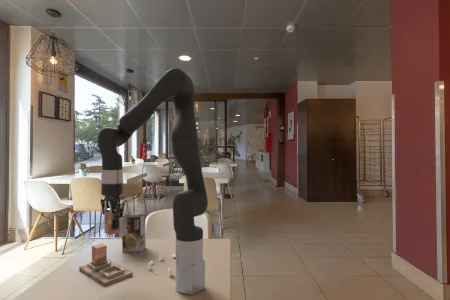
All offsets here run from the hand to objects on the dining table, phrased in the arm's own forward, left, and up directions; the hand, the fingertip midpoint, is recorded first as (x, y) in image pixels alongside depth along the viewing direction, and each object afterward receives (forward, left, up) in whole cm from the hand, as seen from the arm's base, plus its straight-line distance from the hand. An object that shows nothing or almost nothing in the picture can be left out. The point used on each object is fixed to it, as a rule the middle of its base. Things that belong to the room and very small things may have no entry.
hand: (112, 227), depth 107 cm
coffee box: (+19, -21, -18) cm, 34 cm away
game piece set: (-9, -21, -19) cm, 29 cm away
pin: (0, 0, -2) cm, 2 cm away
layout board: (+5, 0, -18) cm, 19 cm away
